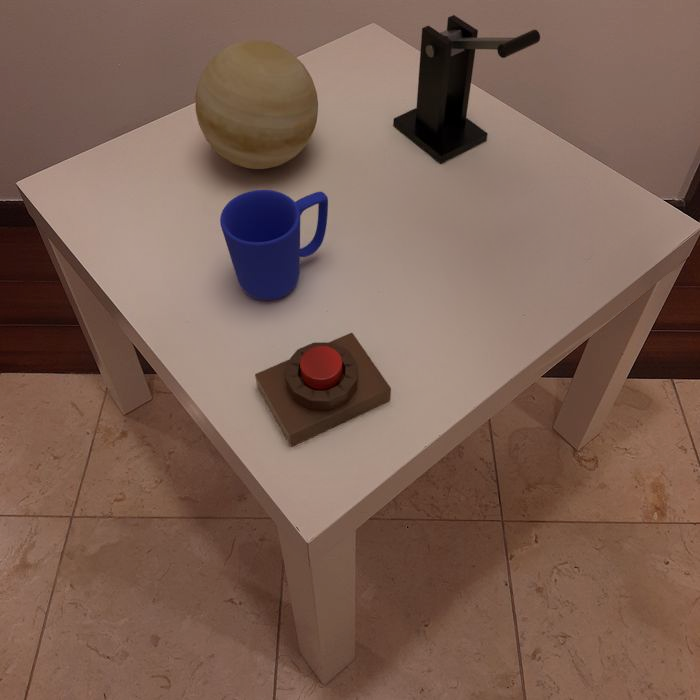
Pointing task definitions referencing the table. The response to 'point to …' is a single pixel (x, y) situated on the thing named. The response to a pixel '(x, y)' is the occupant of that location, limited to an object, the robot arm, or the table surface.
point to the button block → (322, 391)
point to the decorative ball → (256, 104)
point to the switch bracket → (443, 96)
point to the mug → (269, 239)
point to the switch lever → (492, 42)
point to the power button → (321, 367)
